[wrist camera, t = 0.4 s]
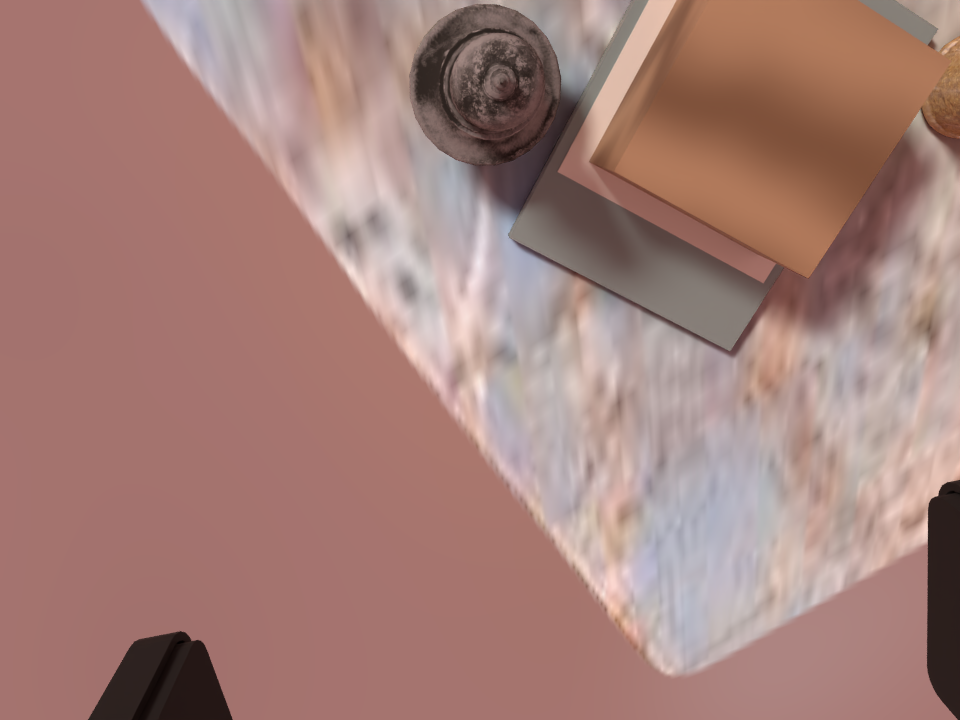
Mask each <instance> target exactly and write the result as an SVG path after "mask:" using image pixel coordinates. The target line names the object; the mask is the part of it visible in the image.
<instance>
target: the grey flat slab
mask: <svg viewBox="0 0 960 720" xmlns="http://www.w3.org/2000/svg"><path fill="white" fill-rule="evenodd" d="M858 1H860V2H861V3H863V4H865V5H866V6H868V7H869V8H871V9H872V10H874V11H875V12H877V13H878V14H880V15H881V16H883V17H885V18H886V19H888V20H889V21H891V22H892V23H894V24H895V25H897V26H898V27H900V28H902V29H903V30H905V31H906V32H908V33H909V34H911V35H912V36H914V37H915V38H917V39H918V40H920V41H922V42H923V43H925V44H926V45H928V44H929V42H930V41H931V39H932V38H933V36H934V35H935V33H936V32H937V30H938V28H936V27H935V26H933V25H932V24H930V23H929V22H927V21H925V20H924V19H922V18H921V17H919V16H918V15H916V14H915V13H913V12H912V11H910V10H909V9H907V8H906V7H904V6H903V5H901V4H900V3H898V2H897V1H895V0H858ZM675 2H676V0H632V1H631V3H630V5H629V7H628V9H627V10H626V12H625V14H624V16H623V18H622V20H621V22H620V24H619V26H618V27H617V29H616V31H615V33H614V35H613V37H612V39H611V41H610V43H609V45H608V46H607V48H606V50H605V52H604V54H603V56H602V58H601V60H600V62H599V64H598V65H597V67H596V69H595V71H594V73H593V75H592V77H591V79H590V81H589V82H588V84H587V86H586V88H585V90H584V92H583V94H582V96H581V98H580V100H579V101H578V103H577V105H576V107H575V109H574V111H573V113H572V115H571V117H570V119H569V120H568V122H567V124H566V126H565V128H564V130H563V132H562V134H561V136H560V137H559V139H558V141H557V143H556V145H555V147H554V149H553V151H552V153H551V155H550V156H549V158H548V160H547V162H546V164H545V166H544V168H543V170H542V172H541V174H540V175H539V177H538V179H537V181H536V183H535V185H534V187H533V189H532V191H531V192H530V194H529V196H528V198H527V200H526V202H525V204H524V206H523V208H522V210H521V211H520V213H519V215H518V217H517V219H516V221H515V223H514V225H513V227H512V229H511V230H510V232H509V234H508V236H509V238H511V239H513V240H515V241H517V242H519V243H520V244H522V245H524V246H526V247H528V248H530V249H532V250H534V251H536V252H538V253H540V254H542V255H544V256H546V257H548V258H550V259H552V260H553V261H555V262H557V263H559V264H561V265H563V266H565V267H567V268H569V269H571V270H573V271H575V272H577V273H579V274H581V275H583V276H585V277H586V278H588V279H590V280H592V281H594V282H596V283H598V284H600V285H602V286H604V287H606V288H608V289H610V290H612V291H614V292H616V293H618V294H619V295H621V296H623V297H625V298H627V299H629V300H631V301H633V302H635V303H637V304H639V305H641V306H643V307H645V308H647V309H649V310H651V311H652V312H654V313H656V314H658V315H660V316H662V317H664V318H666V319H668V320H670V321H672V322H674V323H676V324H678V325H680V326H682V327H684V328H685V329H687V330H689V331H691V332H693V333H695V334H697V335H699V336H701V337H703V338H705V339H707V340H709V341H711V342H713V343H715V344H717V345H718V346H720V347H722V348H724V349H726V350H728V351H731V349H732V348H733V346H734V344H735V343H736V341H737V340H738V338H739V337H740V335H741V334H742V332H743V330H744V329H745V327H746V326H747V324H748V323H749V321H750V320H751V318H752V317H753V315H754V313H755V312H756V310H757V309H758V307H759V306H760V304H761V303H762V301H763V300H764V298H765V296H766V295H767V293H768V292H769V290H770V289H771V287H772V286H773V284H774V282H775V281H776V279H777V278H778V276H779V275H780V273H781V272H782V270H783V269H784V267H783V266H781V265H779V264H776V263H774V262H772V261H770V260H768V259H766V258H764V257H762V256H760V255H758V254H756V253H754V252H752V251H750V250H748V249H747V248H745V247H743V246H741V245H739V244H738V243H736V242H734V241H732V240H730V239H728V238H727V237H725V236H723V235H721V234H719V233H718V232H716V231H714V230H712V229H710V228H708V227H707V226H705V225H703V224H701V223H699V222H698V221H696V220H694V219H692V218H690V217H688V216H687V215H685V214H683V213H681V212H679V211H678V210H676V209H674V208H672V207H670V206H668V205H667V204H665V203H663V202H661V201H659V200H658V199H656V198H654V197H652V196H650V195H648V194H647V193H645V192H643V191H641V190H639V189H638V188H636V187H634V186H632V185H630V184H628V183H627V182H625V181H623V180H621V179H619V178H618V177H616V176H614V175H612V174H610V173H608V172H607V171H605V170H603V169H601V168H599V167H598V166H596V165H594V164H592V163H590V162H589V161H590V159H591V157H592V155H593V153H594V151H595V149H596V148H597V146H598V144H599V142H600V140H601V138H602V137H603V135H604V133H605V131H606V129H607V127H608V126H609V124H610V122H611V120H612V118H613V116H614V115H615V113H616V111H617V109H618V107H619V105H620V104H621V102H622V100H623V98H624V96H625V94H626V92H627V91H628V89H629V87H630V85H631V83H632V81H633V80H634V78H635V76H636V74H637V72H638V70H639V69H640V67H641V65H642V63H643V61H644V59H645V58H646V56H647V54H648V52H649V50H650V48H651V46H652V45H653V43H654V41H655V39H656V37H657V35H658V34H659V32H660V30H661V28H662V26H663V24H664V23H665V21H666V19H667V17H668V15H669V13H670V12H671V10H672V8H673V6H674V4H675Z"/></svg>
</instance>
